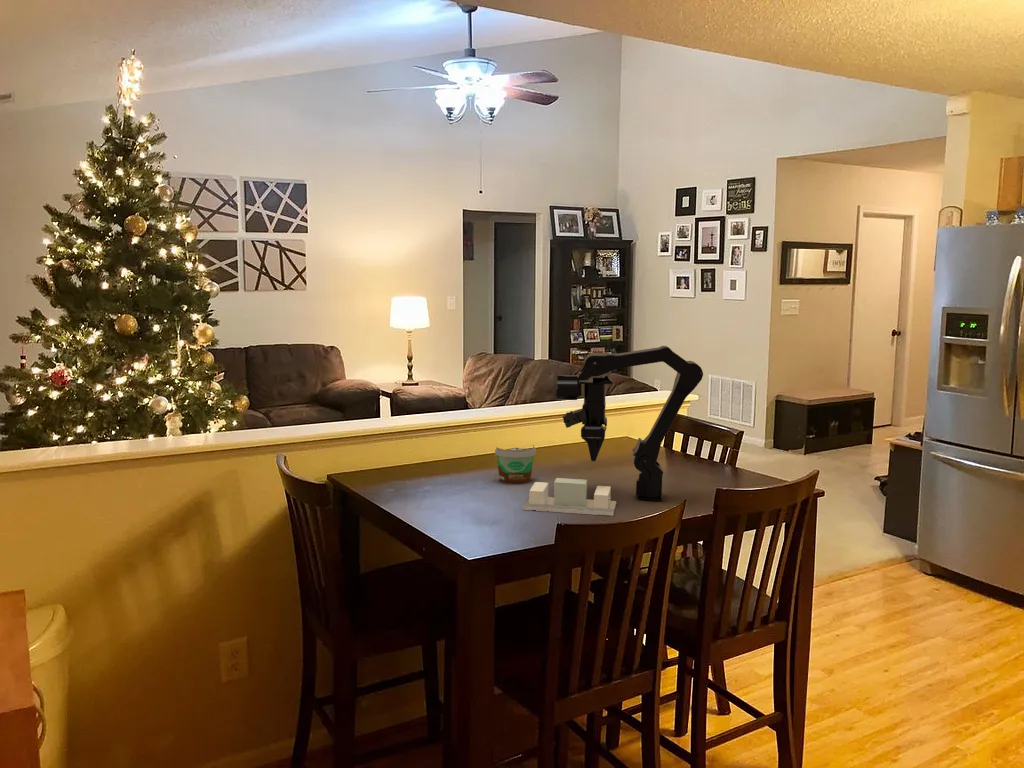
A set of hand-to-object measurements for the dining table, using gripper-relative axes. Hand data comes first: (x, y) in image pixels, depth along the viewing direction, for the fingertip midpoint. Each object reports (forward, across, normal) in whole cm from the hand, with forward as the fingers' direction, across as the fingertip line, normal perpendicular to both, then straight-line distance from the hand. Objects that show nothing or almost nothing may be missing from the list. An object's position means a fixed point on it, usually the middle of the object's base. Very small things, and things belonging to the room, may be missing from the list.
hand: (594, 457), depth 225 cm
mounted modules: (+11, +12, -6) cm, 17 cm away
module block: (+10, +12, -6) cm, 16 cm away
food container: (+11, -11, -22) cm, 27 cm away
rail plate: (+11, +12, -6) cm, 17 cm away
